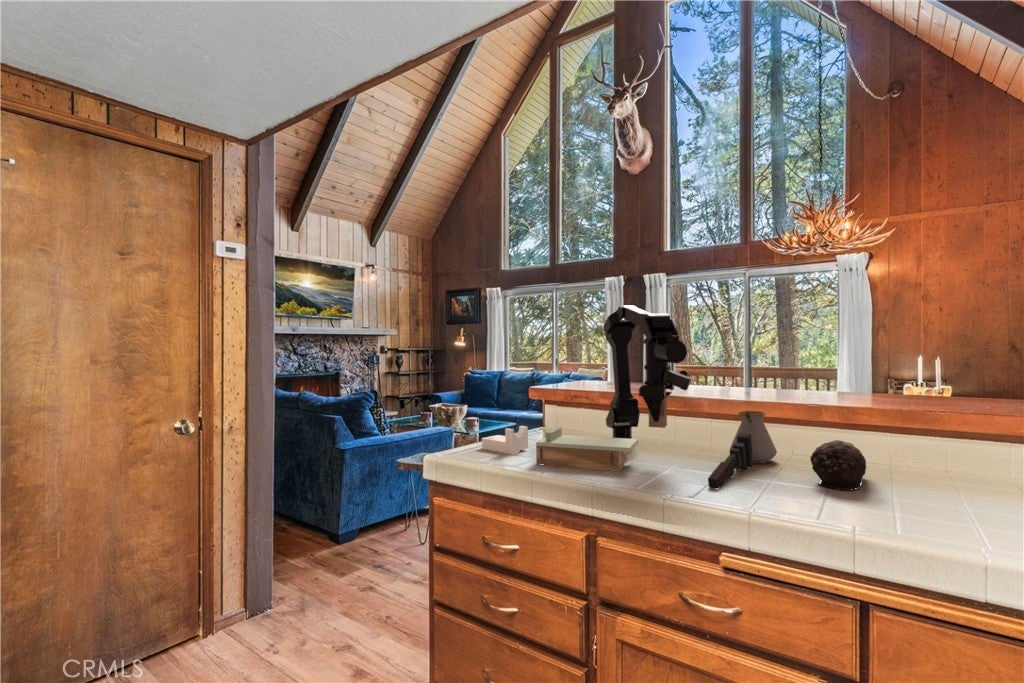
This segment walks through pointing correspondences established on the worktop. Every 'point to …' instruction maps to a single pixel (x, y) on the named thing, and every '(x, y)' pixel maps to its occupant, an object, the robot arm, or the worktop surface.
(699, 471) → the worktop surface
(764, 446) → the coffee pot
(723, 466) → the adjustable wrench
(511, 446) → the bracket
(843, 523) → the worktop surface
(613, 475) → the worktop surface
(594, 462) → the brown box
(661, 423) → the brown stepped square block
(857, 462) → the pine cone
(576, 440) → the lid
